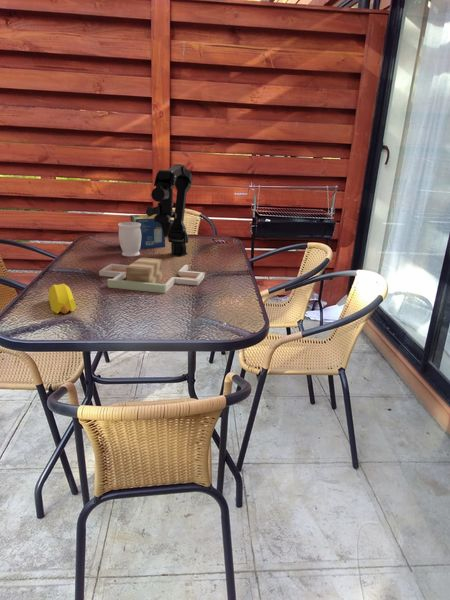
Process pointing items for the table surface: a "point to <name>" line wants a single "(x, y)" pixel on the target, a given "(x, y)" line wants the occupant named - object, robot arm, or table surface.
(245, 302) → the table surface
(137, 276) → the oak block
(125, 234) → the jar
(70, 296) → the yellow arch block
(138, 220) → the protein box
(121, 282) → the white flat frame
